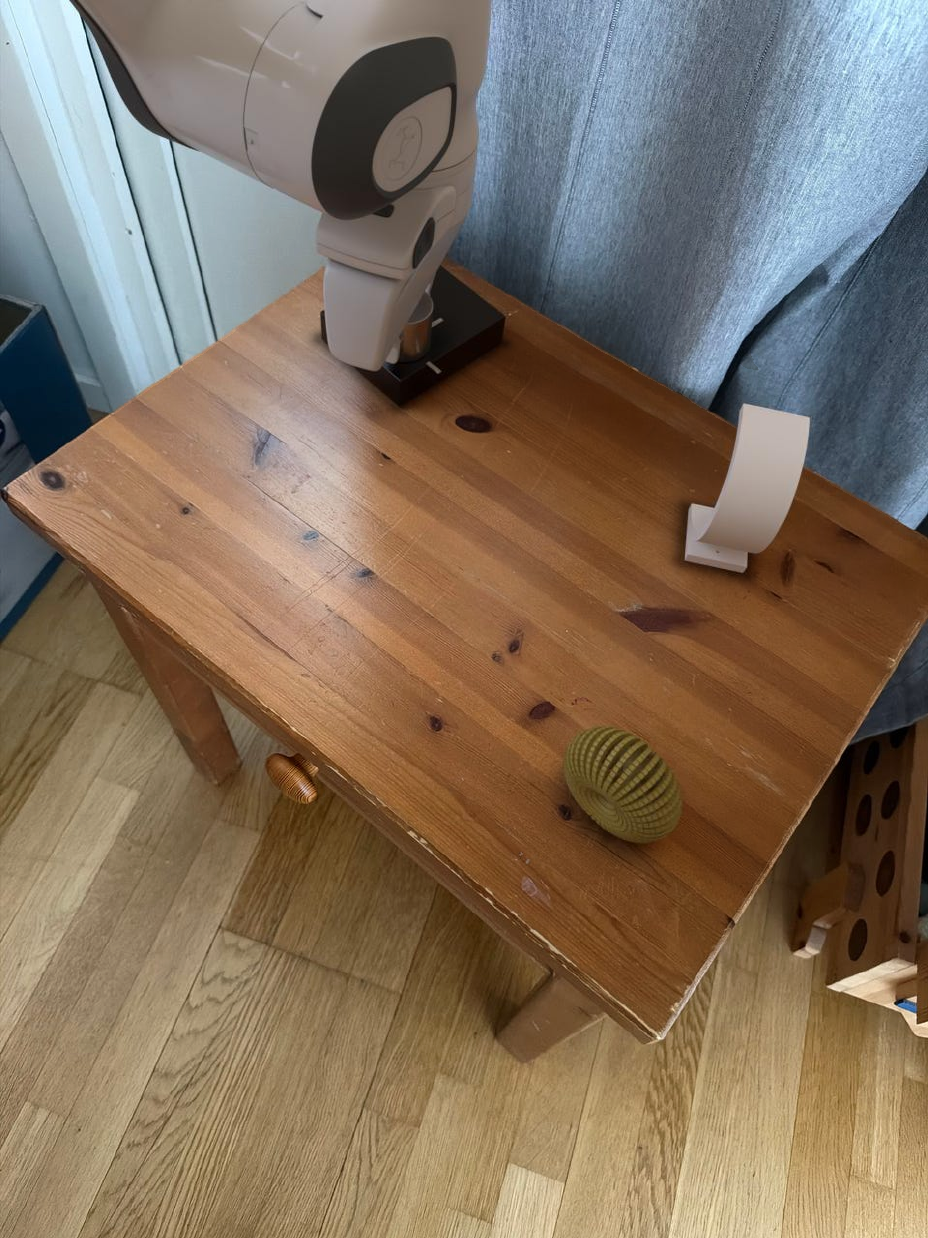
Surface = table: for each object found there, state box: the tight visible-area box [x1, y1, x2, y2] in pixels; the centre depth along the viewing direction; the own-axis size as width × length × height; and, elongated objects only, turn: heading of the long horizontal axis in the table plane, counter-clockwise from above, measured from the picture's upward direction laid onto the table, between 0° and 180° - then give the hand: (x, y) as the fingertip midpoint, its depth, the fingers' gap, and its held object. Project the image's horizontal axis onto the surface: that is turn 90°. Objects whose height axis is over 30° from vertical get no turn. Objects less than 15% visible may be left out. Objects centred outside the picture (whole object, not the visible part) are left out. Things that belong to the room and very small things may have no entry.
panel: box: [319, 264, 507, 408], centre depth 76 cm, size 13×11×3 cm
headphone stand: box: [684, 403, 811, 574], centre depth 64 cm, size 5×6×12 cm
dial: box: [398, 292, 433, 362], centre depth 71 cm, size 4×4×4 cm
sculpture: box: [562, 725, 683, 844], centre depth 55 cm, size 8×4×8 cm, turn 46°
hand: (402, 332), depth 72 cm, fingers closed on dial, 4 cm apart
